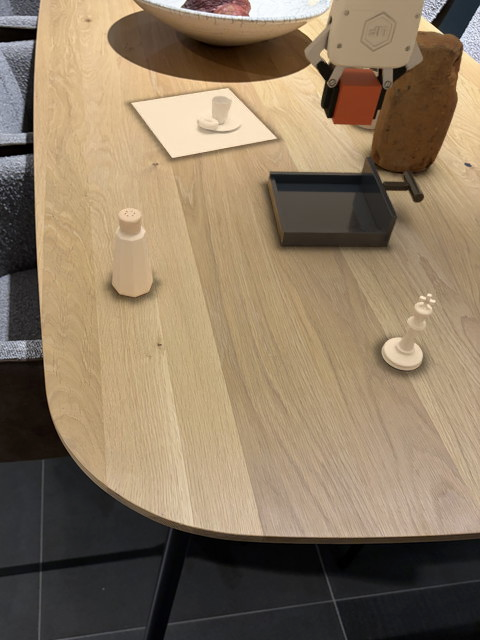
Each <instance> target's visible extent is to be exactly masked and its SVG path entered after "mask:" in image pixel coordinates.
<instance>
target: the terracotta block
mask: <svg viewBox="0 0 480 640" xmlns="http://www.w3.org/2000/svg"><path fill="white" fill-rule="evenodd" d="M338 87H339V93H338V98H337V102H336V106H335V110H334V115H333V117H332V118H330V119H331V121H332V123H333V125H343V126H344V125H347V126H348V125H349V126H358V125H371V124H372V120H373V117H374V113H375V110H376V106H377V103H378V99H379V96H380V92H381V89H382V86H381V84H380V82H379V81H378V79H377V77H376V75H375V73H374V72H373V70H372V69H351V68H345V69H344V71H343V73H342V75H341V77H340V79H339V81H338Z"/></svg>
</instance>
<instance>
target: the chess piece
mask: <svg viewBox="0 0 480 640" xmlns="http://www.w3.org/2000/svg"><path fill="white" fill-rule="evenodd" d="M432 296H433V294H432V293H429V292H428V293H427V295H426V296H425V295H424V296H423V295H420V296H419V298H418V302H416V303H415V304H414V307H413V315H411V316H410V317H408V319H406V323H407V326H408V329H407V331H406V332H405V334H404V335H403V337H399V336H398V337H391V338H389V339H388V340H386V341H385V343H384V344H383V346H382V347H381V356H382V358H383V360H384V361H385V362H386V363H387V364H388V365H389V366H391V367H392V368H395V369H397V370H400V371H414V370H416V369H418V368H419V367H420V366H421V365H422V362H423V359H424V353H423V350H422V348H421V347H420V346H419V345H418V344H417V343H416V339H417V336H418V333H419V331H422V330H425V329H426V328H427V327H426V326H427V322H426V319H427V318H428V317H429V316H431V314H432V313H433V307H432V306H435V304H436V300H435V299H432Z"/></svg>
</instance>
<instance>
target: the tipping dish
mask: <svg viewBox="0 0 480 640" xmlns="http://www.w3.org/2000/svg"><path fill="white" fill-rule="evenodd" d="M401 179H402V181H391V180H389V181H388V180H384V181H382V179H381V176H380V174H379V172H378V169H377V167H376V165H375V162H374V161H373V160H372V156H366V157H365V159H364V162H363V165H362V169H361V172H348V171H347V172H346V171H345V172H341V171H338V172H337V171H286V170H285V171H283V170H282V171H279V170H277V171H276V170H275V171H274V170H270V171H269V172H268V179H267V188H268V193H269V196H270V197H269V198H270V201H271V202H270V203H271V205H272V209H273V215H274V218H275V223H276V228H277V231H278V236H279V240H280V244H281V247H294V246H295V247H388V245H389V242H390V239H391V237H392V235H393V230H394V228H395V225H396V222H397V221H398V215H397V212H396V210H395V207H394V204H393V203H392V201H391V198H390V196H389V194H388V192H408V194H410V195H409V196H410V197H411V200H412V201H413V202H414V203H415V204H418V203H421V202H422V201H423V200H424V199H425V194H424V191H422V189H421V187H420V185H419V183H418V181H417V179H416V177H415V174H414V172H411V171H405V172H402V175H401Z"/></svg>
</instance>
